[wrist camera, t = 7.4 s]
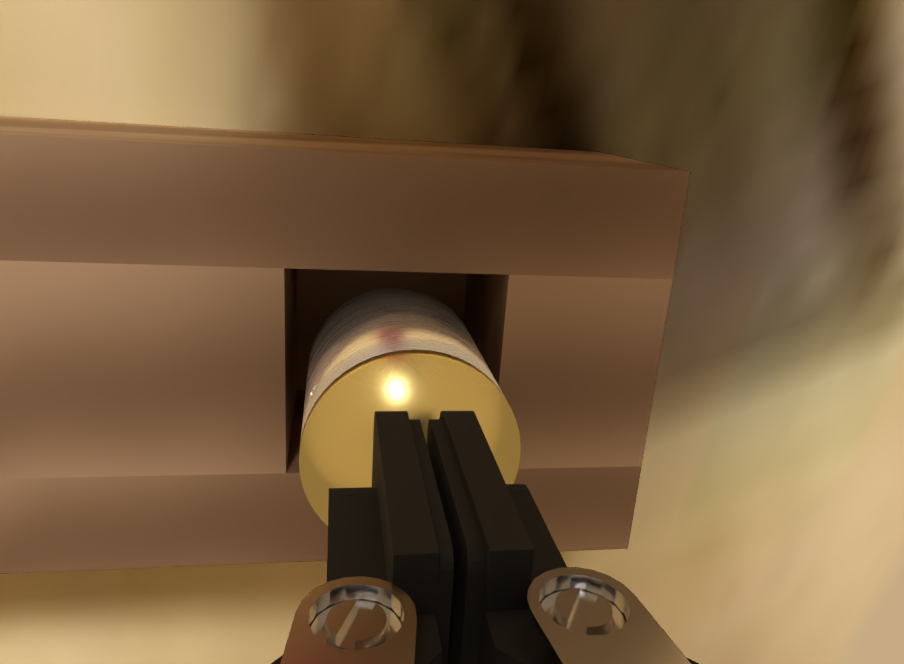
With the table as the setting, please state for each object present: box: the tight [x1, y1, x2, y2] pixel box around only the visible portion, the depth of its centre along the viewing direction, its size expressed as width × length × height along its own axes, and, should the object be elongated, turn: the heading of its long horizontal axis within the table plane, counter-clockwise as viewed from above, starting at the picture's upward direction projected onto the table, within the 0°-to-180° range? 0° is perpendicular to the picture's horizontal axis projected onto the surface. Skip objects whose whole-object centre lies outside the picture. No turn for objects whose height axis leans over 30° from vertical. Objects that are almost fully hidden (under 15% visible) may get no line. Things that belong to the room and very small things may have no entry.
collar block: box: [0, 116, 691, 574], centre depth 18 cm, size 10×26×6 cm, turn 86°
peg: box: [299, 288, 521, 526], centre depth 15 cm, size 4×4×4 cm
